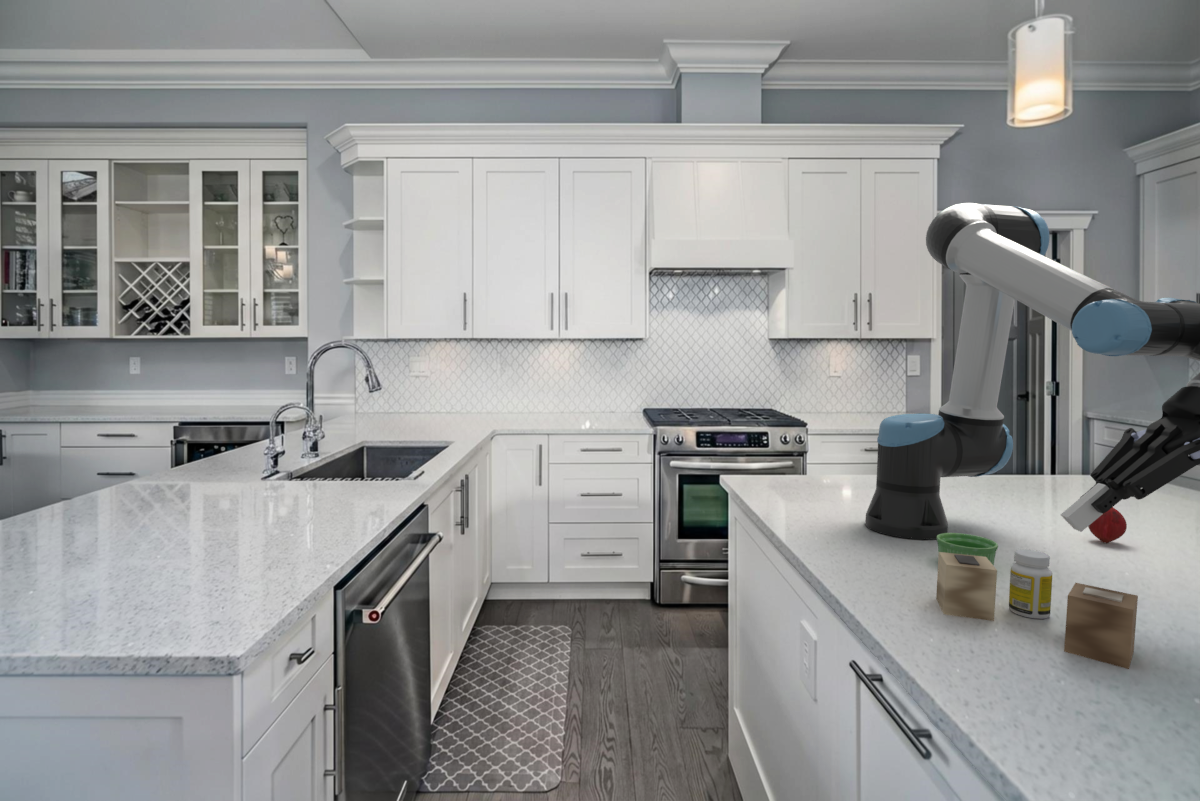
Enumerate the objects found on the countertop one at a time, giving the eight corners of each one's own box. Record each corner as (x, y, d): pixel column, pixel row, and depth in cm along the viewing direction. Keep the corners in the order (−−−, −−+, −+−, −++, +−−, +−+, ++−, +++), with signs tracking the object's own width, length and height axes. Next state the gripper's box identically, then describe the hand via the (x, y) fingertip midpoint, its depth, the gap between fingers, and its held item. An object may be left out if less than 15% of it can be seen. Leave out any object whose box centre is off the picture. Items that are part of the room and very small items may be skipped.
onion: (1132, 548, 117) (1135, 506, 116) (1097, 546, 118) (1100, 504, 118) (1113, 539, 123) (1116, 499, 122) (1080, 537, 124) (1083, 497, 123)
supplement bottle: (1043, 608, 88) (1047, 550, 88) (1055, 622, 84) (1059, 560, 83) (1004, 603, 90) (1007, 546, 89) (1013, 616, 86) (1017, 556, 85)
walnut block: (1063, 651, 76) (1067, 593, 75) (1071, 636, 80) (1075, 581, 79) (1128, 669, 71) (1133, 607, 71) (1133, 652, 76) (1138, 594, 75)
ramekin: (925, 563, 108) (926, 538, 107) (949, 553, 113) (951, 529, 113) (982, 578, 101) (984, 551, 100) (1005, 567, 106) (1006, 542, 106)
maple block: (943, 614, 86) (946, 563, 86) (936, 598, 92) (938, 550, 91) (994, 621, 84) (997, 568, 84) (983, 604, 90) (986, 555, 89)
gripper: (1282, 430, 76) (1125, 558, 79) (1191, 419, 89) (1059, 529, 92) (1239, 386, 76) (1083, 515, 79) (1154, 381, 89) (1023, 492, 92)
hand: (1070, 523), depth 86 cm, fingers closed
